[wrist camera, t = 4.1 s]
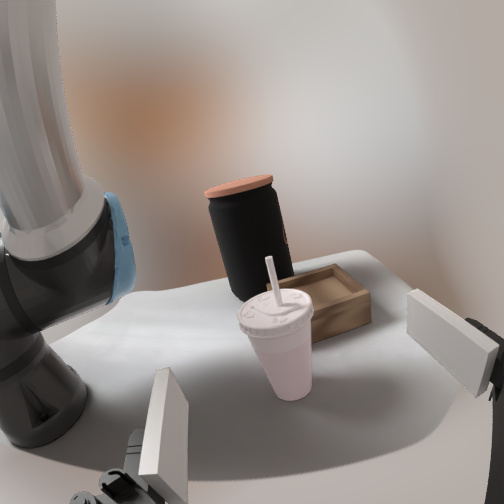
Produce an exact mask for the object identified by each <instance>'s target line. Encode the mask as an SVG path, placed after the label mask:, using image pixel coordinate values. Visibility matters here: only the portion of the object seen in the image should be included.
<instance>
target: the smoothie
mask: <svg viewBox="0 0 504 504" xmlns="http://www.w3.org/2000/svg"><path fill="white" fill-rule="evenodd" d="M265 260H266V264H267V268H268V273H269V277H270V281H271V285H272V289H273V290H271V291H267V292H264V293H261V294H259V295H257V296H255V297H253V298H251V299H249V300H248V301H246V302H245V303H244V304H243V305H242V306H241V307H240V309H239V311H238V313H237V318H238V321H239V327H240V329H241V330H242V331H243V332H244V333H245V334H247V335H248V338H249V340H250V342H251V344H252V346H253V348H254V350H255V352H256V354H257V357H258V359H259V361H260V363H261V365H262V367H263V369H264V371H265V373H266V375H267V377H268V379H269V381H270V383H271V385H272V387H273V389H274V391H275V393H276V395H277V396H278V397H279V398H280V399H282V400H286V401H294V400H298V399H301V398H303V397H304V396H306V395H307V394H308V393H309V392H310V390H311V387H312V356H311V318H312V316H313V313H314V308H313V305H312V300H311V297H310V296H309V295H308V294H307V293H305V292H303V291H301V290H297V289H279V284H278V280H277V276H276V271H275V267H274V263H273V258H272V256H268V257H266V258H265Z"/></svg>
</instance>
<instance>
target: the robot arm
mask: <svg viewBox="0 0 504 504" xmlns="http://www.w3.org/2000/svg"><path fill="white" fill-rule="evenodd" d="M0 208H1V210H2V212H3V214H4V216H5V219H4V222H3V226H2V233H0V429H1V430H2V431H3V433H4V434H5V435H6V436H7V437H8V438H9V440H10V441H11V442H12V443H14V444H15V445H17V446H20V447H27V448H30V447H38V446H41V445H44V444H47V443H49V442H51V441H53V440H55V439H56V438H58V437H59V436H61V435H62V434H63V433H65V432H66V431H67V430H68V429H69V428H70V427H71V426H72V425H73V424H74V423H75V421H76V420H77V419H78V417H79V416H80V414H81V413H82V411H83V409H84V406H85V404H86V400H87V389H86V386H85V384H84V383H83V381H82V379H81V378H80V376H79V375H78V373H77V372H76V371H75V370H74V369H73V368H72V367H71V366H69V365H66V364H65V362H64V361H63V360H62V359H61V358H60V357H59V356H58V355H57V354H56V353H55V352H54V351H53V350H52V349H51V348H50V347H49V346H48V344H47V343H46V341H45V340H44V338H43V336H42V334H41V332H40V331H42V330H45V329H46V328H49V327H51V326H54V325H57V324H59V323H62V322H64V321H67V320H69V319H72V318H74V317H77V316H79V315H82V314H84V313H86V312H89V311H92V310H94V309H97V308H99V307H102V306H104V305H109V304H111V303H112V302H113V301H114V300H115V299H117V298H119V297H122V296H124V295H126V294H128V293H129V292H130V291H131V290H132V289H133V288H134V285H135V282H136V266H135V259H134V254H133V249H132V244H131V242H130V240H129V232H128V227H127V223H126V219H125V216H124V213H123V210H122V207H121V205H120V202H119V200H118V198H117V196H116V195H115V194H114V193H104V192H103V190H102V188H101V186H100V185H99V183H98V182H97V181H95V180H94V179H92V178H90V177H88V176H85V175H83V174H82V170H81V167H80V163H79V159H78V155H77V151H76V147H75V142H74V138H73V134H72V129H71V124H70V120H69V114H68V110H67V105H66V99H65V93H64V86H63V79H62V72H61V65H60V56H59V47H58V35H57V22H56V0H0ZM407 334H408V335H409V336H410V337H412V338H413V339H414V340H415V341H416V342H417V343H418V344H419V345H420V346H421V347H422V348H424V349H425V350H426V351H427V352H428V353H429V354H430V355H431V356H432V357H433V358H434V359H435V360H436V361H438V362H439V363H440V364H441V365H442V366H443V367H444V368H445V369H446V370H447V371H448V372H449V373H450V374H451V375H452V376H453V377H454V378H456V379H457V380H458V381H459V382H460V383H461V384H462V385H463V386H464V387H465V388H466V389H467V390H468V391H469V392H470V393H471V394H472V395H473V396H474V397H475V398H477V397H478V396H479V395H481V394H482V393H484V392H485V391H486V390H487V387H488V384H489V381H490V382H491V383H493V384H494V385H493V388H492V391H491V394H490V397H489V401H490V400H491V398H492V396H493V431H492V449H491V461H490V471H489V479H488V486H487V492H486V499H485V504H504V339H503V338H501V337H500V336H498V335H497V334H496V333H494V332H493V331H491V330H489V329H488V328H487V327H485V326H483V325H482V324H481V323H480V322H478V321H477V320H473V319H470V318H466V319H465V320H464V319H462V318H461V317H459V316H458V315H456V314H455V313H453V312H452V311H451V310H449V309H448V308H446V307H445V306H443V305H442V304H440V303H438V302H437V301H436V300H434V299H433V298H431V297H429V296H428V295H427V294H425V293H423V292H422V291H420V290H419V289H415V290H413V291H410V292H408V293H407ZM188 410H189V403H188V401H187V400H186V398H185V396H184V394H183V392H182V390H181V388H180V386H179V384H178V383H177V381H176V379H175V377H174V375H173V373H172V371H171V369H170V367H167V368H163V369H158V370H156V373H155V378H154V383H153V388H152V393H151V399H150V404H149V409H148V415H147V421H146V427H145V428H138V429H134V431H133V432H132V434H131V435H130V437H129V441H128V448H127V451H126V454H127V455H126V456H125V462H124V467H123V469H119V468H114V469H110V470H108V471H106V472H105V473H104V474H103V475H102V476H101V478H100V480H99V487H100V489H101V490H102V491H103V492H104V493H105V494H102V495H98V496H95V497H94V496H93V495H92V494H91V493H89V492H85V491H83V492H79V493H77V494H75V495H74V496H73V497H72V499H71V501H70V504H165V501H166V502H167V503H168V504H188Z"/></svg>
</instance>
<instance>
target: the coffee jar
mask: <svg viewBox="0 0 504 504" xmlns="http://www.w3.org/2000/svg"><path fill="white" fill-rule="evenodd" d="M272 181H273V176H272V175H260V176H255V177H250V178H245V179H241V180H237V181H233V182H229V183H225V184H222V185H219V186H216V187H213V188H210V189H208V190H206V191H205V192H204V194H205V196H206V198H208V199H209V200H210V205H209V212H210V216H211V220H212V223H213V227H214V231H215V234H216V238H217V241H218V245H219V248H220V252H221V255H222V259H223V262H224V266H225V269H226V273H227V276H228V280H229V283H230V286H231V290H232V292H233V293H234V294H235V296H236V297H238V298H239V299H240V300H242V301H244V302H246V301H248V300H249V299H251V298H253V297H255V296H257V295H259V294H261V293H264V292H267V291H268V290H267V286H266V284H269V283H271V281H270V277H269V273H268V268H267V264H266V260H265V258H266V257H268V256H272V258H273V263H274V267H275V271H276V276H277V280H278V281H279V280H282V279H286V278H289V277H293V276H294V272H293V267H292V262H291V257H290V252H289V248H288V244H287V238H286V234H285V229H284V224H283V220H282V216H281V211H280V206H279V202H278V197H277V193H276V191H275V190H274V189H273V188H272V186H271V185H272Z"/></svg>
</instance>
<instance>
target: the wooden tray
mask: <svg viewBox="0 0 504 504" xmlns="http://www.w3.org/2000/svg"><path fill="white" fill-rule="evenodd" d="M278 284H279V289H297V290H301V291H303V292H305V293H307V294H308V295H309V296H310V297H311V300H312V305H313V308H314V313H313V316H312V318H311V343H314V342H317V341H320V340H323V339H326V338H329V337H332V336H335V335H338V334H341V333H343V332H346V331H349V330H352V329H354V328H357V327H360V326H362V325H365V324H368V323H370V322H371V304H370V292H369V291H368V290H366V289H365V288H364V287H363V286H362V285H361V284H359V283H358V282H357V281H356V280H355V279H353V278H352V277H351V276H350V275H349V274H347V273H346V272H345V271H344V270H343V269H341V268H340V267H339V266H338V265H337V264H333V265H329V266H326V267H323V268H320V269H316V270H313V271H310V272H306V273H303V274H299V275H296V276H293V277H289V278H286V279H282V280H279V281H278ZM266 286H267V290H268V291H271V290H273V289H272V285H271V283H269V284H266Z"/></svg>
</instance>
